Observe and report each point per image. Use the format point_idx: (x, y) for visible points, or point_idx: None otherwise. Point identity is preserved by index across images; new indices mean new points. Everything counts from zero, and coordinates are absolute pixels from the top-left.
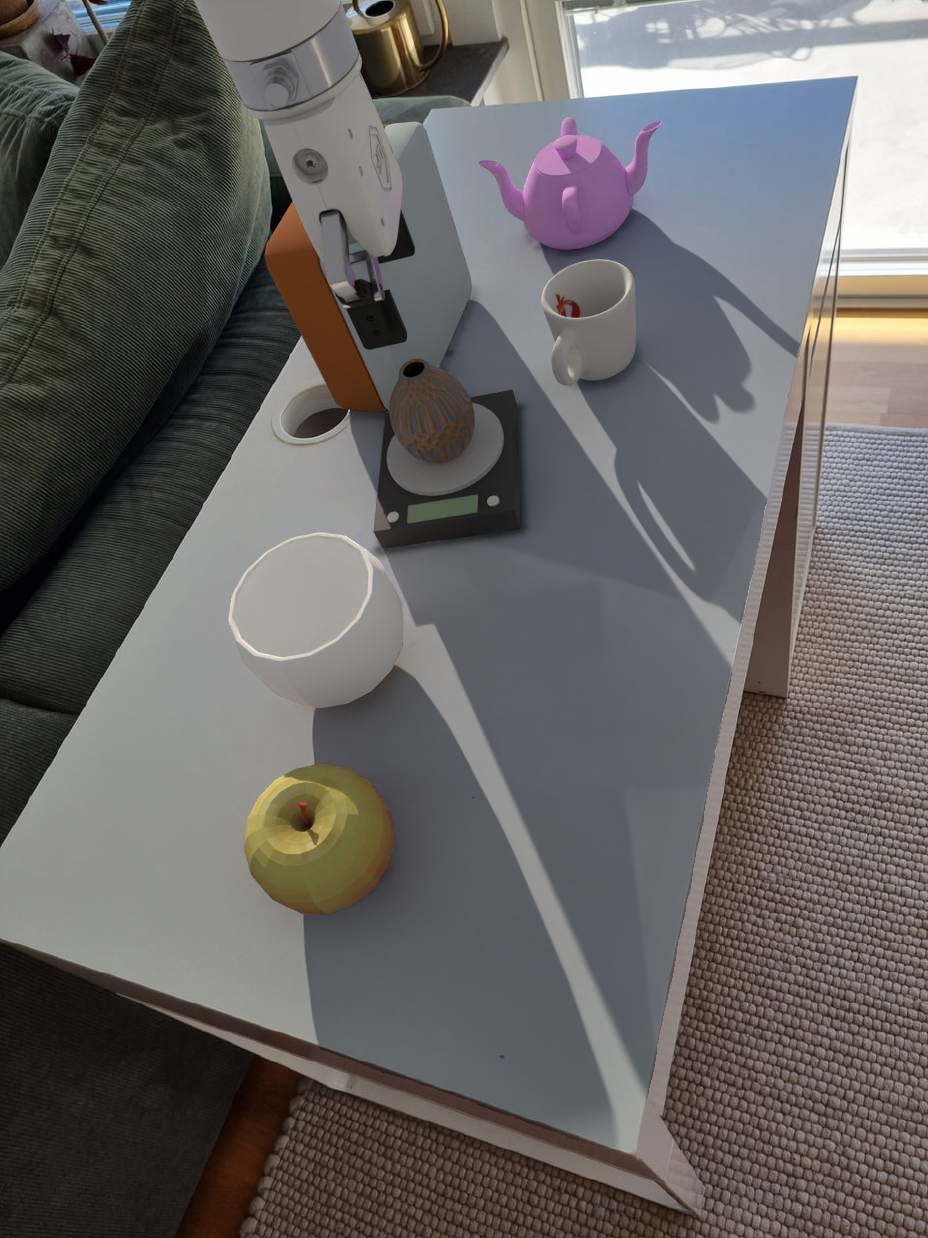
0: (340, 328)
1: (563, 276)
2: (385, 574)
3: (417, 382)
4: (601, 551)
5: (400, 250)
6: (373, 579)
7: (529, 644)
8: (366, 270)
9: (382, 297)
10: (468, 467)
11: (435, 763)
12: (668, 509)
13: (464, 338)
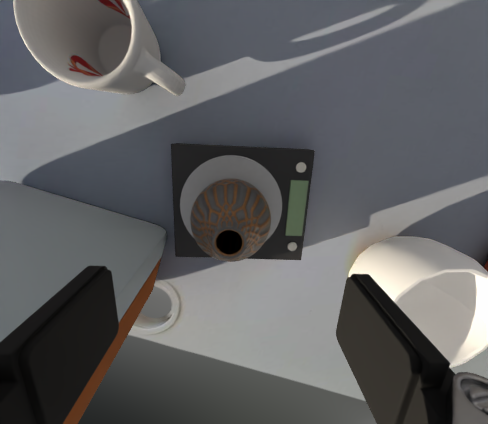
0: (123, 320)
1: (42, 53)
2: (422, 255)
3: (248, 237)
4: (350, 84)
5: (104, 297)
6: (457, 268)
7: (411, 148)
8: None
9: (466, 380)
10: (263, 187)
11: (471, 213)
12: (326, 17)
13: (76, 189)
